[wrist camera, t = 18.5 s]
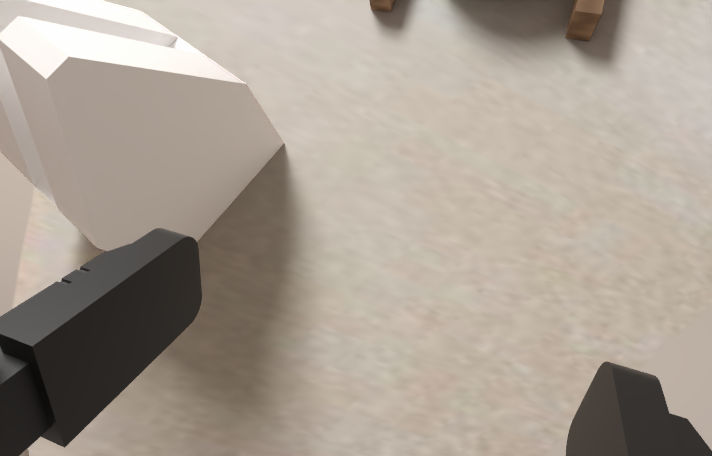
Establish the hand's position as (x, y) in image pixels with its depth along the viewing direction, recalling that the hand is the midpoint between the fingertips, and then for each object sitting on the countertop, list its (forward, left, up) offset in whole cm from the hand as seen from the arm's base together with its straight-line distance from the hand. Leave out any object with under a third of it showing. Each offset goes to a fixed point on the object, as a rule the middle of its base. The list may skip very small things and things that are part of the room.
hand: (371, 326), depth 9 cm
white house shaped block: (+32, -13, -37) cm, 51 cm away
